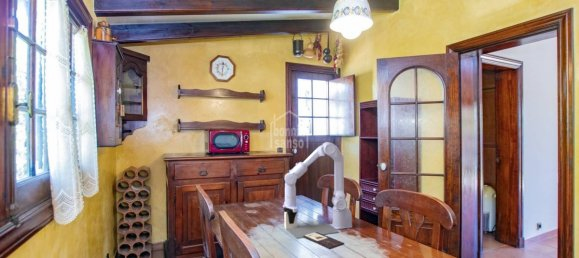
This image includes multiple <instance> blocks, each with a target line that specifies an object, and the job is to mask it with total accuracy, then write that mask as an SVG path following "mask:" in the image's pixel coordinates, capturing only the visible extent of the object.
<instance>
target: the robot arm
mask: <svg viewBox="0 0 579 258" xmlns="http://www.w3.org/2000/svg"><path fill="white" fill-rule="evenodd" d="M325 154H326V155H325ZM324 156H329V157H330V158H331V159H333V174H334V175H333V183H334V187H333V189H334V190H333V196H332V198H331V203H332V205H333V207H332V208H331V209H332V210H331V211H332V212H331V214H332V215H331V216H332V223H329V224H328V225H329V226H330V227H332V228H333V229H335V230H344V229H349V228H353V221H352V219H353V216H352V211H351V209H349V207H347V206H348V201H347V200H346V195H345V179H344V178H345V177H344V175H345V170H344V169H345V168H344V166H345V165H344V163H345V162H344V159H345V157H344V155H343V154H342V152H341V151H340V149H339V147H338V146H337V145H336V144H334V143H333V142H330V141H325V142H323V143H322V144H321V145H319V146H318V147H317V148H315V150H314V151H313V152H312V153H311V154H309V155H308V157H306V159H305V160H304V161H303V162H302V161H299V162H296V163H295V166H293V168H291V169H289V170H288V172H286V174H285V175H284V182H285V183H284V202H283V205H282V207H283V211H284V212H287V214H288V218H289V224H294V220H295V216H296V214H297V215H298V211H299V210H298V206H297V187H296V183H297V180H298V179H300V178H301V177H302V176H303V175H304V174H305V173H306V172H307V171H308V167H309V166H310V165H311V164H313V163H314V162H315V161H316V160H317V159H318V158H319V157H324Z"/></svg>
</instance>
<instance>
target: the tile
mask: <svg viewBox="0 0 579 258" xmlns="http://www.w3.org/2000/svg"><path fill="white" fill-rule="evenodd" d="M283 214H284V216H283V217H284V218H283V219H284V220H283V221H284V229H286V230H287V228H295V227H298V217H297V215H298V213H297V214H296V216H295V220H294V224H289V218H288V214H287V212H285V211H284V213H283Z"/></svg>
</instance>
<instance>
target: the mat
mask: <svg viewBox="0 0 579 258" xmlns="http://www.w3.org/2000/svg"><path fill="white" fill-rule="evenodd" d="M286 231H288V233H290V234H291V235H292V236H293V237H294V238H295V239H297V240H298V239H305V238H304V237H303V236H304V235H308V234H311V233H315V232H318V233H321V234H323V235H326V236H327V235H333V234H339V230H337V229H335V228H333V227H332V226H330V225H329V224H327V223H320V224H311V225H310V224H309V225H304V226H297V227H295V228H287V229H286Z"/></svg>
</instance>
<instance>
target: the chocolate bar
mask: <svg viewBox="0 0 579 258" xmlns="http://www.w3.org/2000/svg"><path fill="white" fill-rule="evenodd" d="M303 237H304V238H303V239H306V240H308V241H310V242H312V243H315V244H317V245H319V246H322V247H323V248H326V249H328V250H331V249H334V248H336V247H340V246H343V245H345V242H343V241H340V240H338V239H336V238H334V237H330V236H327V235H323V234H321V233H318V232H315V233H311V234H308V235H304V236H303Z"/></svg>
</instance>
